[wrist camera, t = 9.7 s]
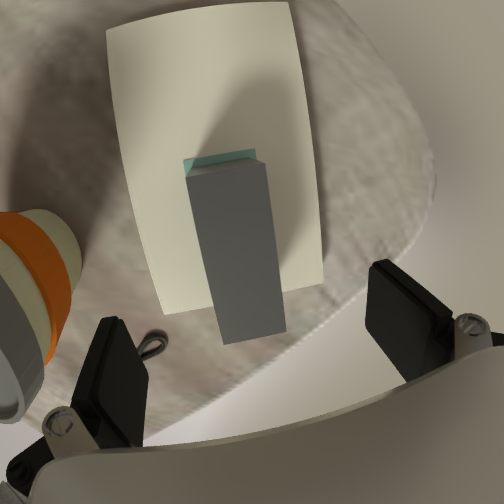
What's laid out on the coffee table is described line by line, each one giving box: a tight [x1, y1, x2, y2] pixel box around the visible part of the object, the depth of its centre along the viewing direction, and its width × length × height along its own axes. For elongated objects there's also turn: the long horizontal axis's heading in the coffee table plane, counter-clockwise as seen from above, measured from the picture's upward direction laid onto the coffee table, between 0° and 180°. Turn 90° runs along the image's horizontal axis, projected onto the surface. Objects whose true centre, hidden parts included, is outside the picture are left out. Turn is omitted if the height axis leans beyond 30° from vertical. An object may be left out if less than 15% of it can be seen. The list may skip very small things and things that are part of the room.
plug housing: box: [185, 157, 286, 345], centre depth 20 cm, size 11×4×6 cm, turn 8°
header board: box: [106, 2, 323, 315], centre depth 20 cm, size 24×14×5 cm, turn 8°
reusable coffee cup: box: [0, 209, 82, 424], centre depth 15 cm, size 12×13×15 cm
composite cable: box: [137, 333, 167, 361], centre depth 27 cm, size 10×5×2 cm, turn 110°
